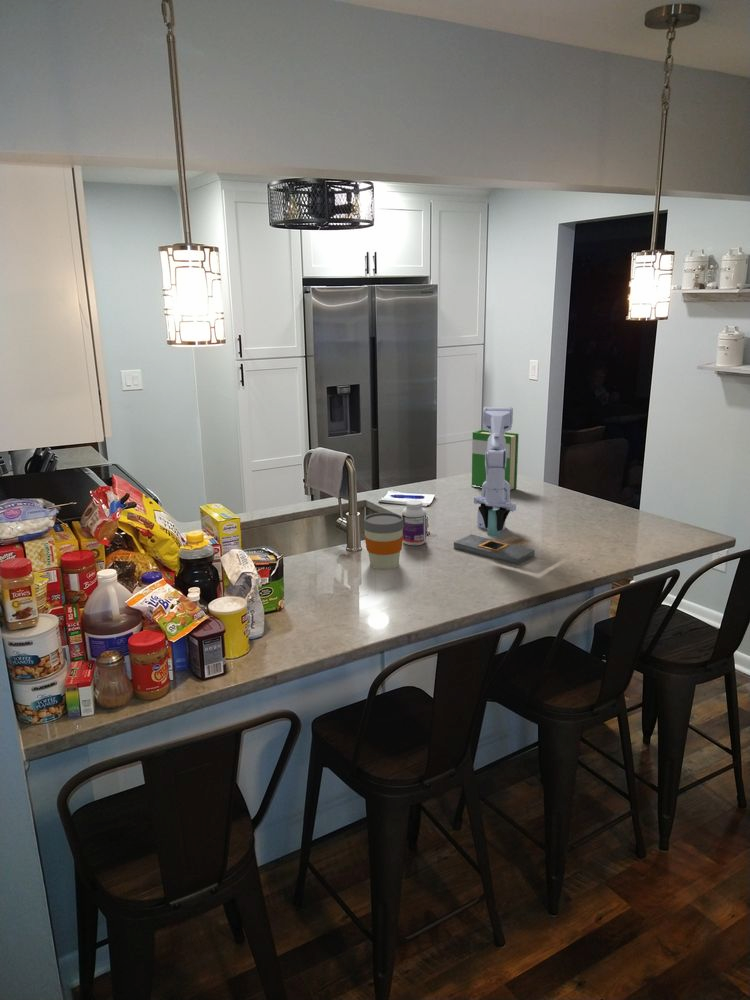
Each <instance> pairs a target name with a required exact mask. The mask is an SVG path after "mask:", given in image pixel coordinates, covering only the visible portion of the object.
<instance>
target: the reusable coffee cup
mask: <svg viewBox="0 0 750 1000" xmlns="http://www.w3.org/2000/svg"><path fill="white" fill-rule="evenodd" d="M403 528H404V522H403V517H402V515H400V514H398V513H395V512H393V513H392V512H377V513H376V512H374V513H371V514H367V515H365V516H364V518H363V530H364V532H365V533H364V540H365V548H366V551H367V552H368V557H369V563H370V567H372V568H374V569H378V570H389V569H390V570H391V569H394V568H396V567H398V566H399V565H400V554H401V551H402V549H403V544H404V542H403V534H402V532H403Z"/></svg>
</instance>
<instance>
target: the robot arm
mask: <svg viewBox="0 0 750 1000" xmlns="http://www.w3.org/2000/svg"><path fill="white" fill-rule="evenodd" d="M482 410H483V411H482V414H483V415H482V416H483V417H482V424H483V428H484V430H487V431H490V434H491V435H490V436H489V437H488V443H487V453H485V467H486V481H485V482H484V483H483V485H482V489H481V496H475V497H473V504H475V505H479V506H478V509H477V523H476V525H477V527H478V528H481V529H485V530H487V531H488V510H489V509H498V510H496V511H495V512H496V516H497V531H500V532H501V531H504V530H505V529H506V519H507V518H508V516H509V514H510V512H515V511H517V504H516V503H513V502H511V490H510V485H509V483H508V482H507V481H506V480H505V468H506V460H507V452H506V439H505V437H504V435H505V432H508V431H511V430H512V427H513V423H514V422H513V421H514V419H513V415H514V408H513V407H512V406H509V407H508V406H501V407H499V406H494V407H493V406H484V407H483V409H482ZM503 465H505V468H504V466H503Z"/></svg>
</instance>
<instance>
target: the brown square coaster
mask: <svg viewBox="0 0 750 1000" xmlns="http://www.w3.org/2000/svg"><path fill="white" fill-rule="evenodd" d="M499 541H500V542H504V543H508V544H512V545H517V546H521V547H523V546H524V545H526V544H528V543H529V542H532V540H531V539H526V538H522V537H518V536H514V535H509V536H507V537H505V538H503V539H501V540H499Z"/></svg>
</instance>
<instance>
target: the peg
mask: <svg viewBox="0 0 750 1000" xmlns="http://www.w3.org/2000/svg"><path fill="white" fill-rule="evenodd" d="M496 510H498V509H489V510H488V530H487V536H488V537H493V538H494V537H500V536H501V531H497V516H496V512H495V511H496Z"/></svg>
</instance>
